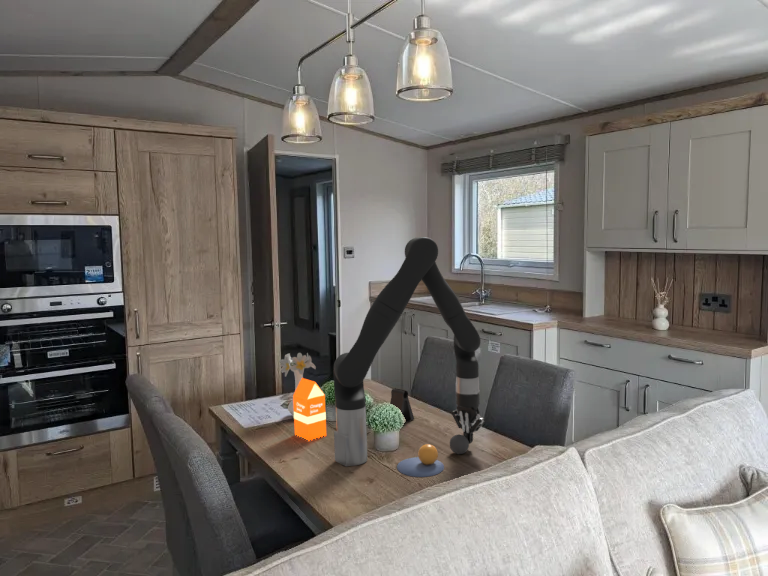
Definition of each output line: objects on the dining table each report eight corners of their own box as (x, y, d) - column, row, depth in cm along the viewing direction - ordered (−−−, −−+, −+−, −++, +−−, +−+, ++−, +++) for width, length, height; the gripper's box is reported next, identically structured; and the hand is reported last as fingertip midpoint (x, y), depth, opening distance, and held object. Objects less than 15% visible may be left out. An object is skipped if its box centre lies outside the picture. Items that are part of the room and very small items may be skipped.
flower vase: (298, 407, 229) (295, 347, 227) (326, 416, 216) (324, 353, 214) (271, 414, 220) (268, 352, 218) (298, 425, 207) (296, 359, 204)
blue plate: (419, 481, 156) (419, 480, 156) (387, 466, 167) (387, 465, 167) (453, 467, 165) (453, 466, 165) (421, 454, 176) (421, 453, 176)
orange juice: (308, 441, 190) (305, 384, 188) (294, 435, 197) (291, 379, 195) (327, 435, 195) (324, 379, 193) (312, 429, 202) (310, 375, 200)
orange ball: (445, 455, 168) (434, 471, 166) (431, 449, 173) (420, 465, 170) (435, 443, 166) (424, 459, 163) (422, 437, 170) (410, 453, 168)
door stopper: (397, 425, 203) (397, 393, 202) (386, 422, 208) (385, 390, 206) (414, 419, 210) (413, 388, 209) (402, 416, 214) (401, 385, 213)
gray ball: (475, 443, 176) (465, 460, 174) (460, 436, 181) (450, 452, 179) (467, 435, 173) (458, 452, 171) (452, 428, 177) (443, 444, 175)
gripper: (444, 388, 180) (445, 440, 182) (475, 396, 170) (476, 451, 172) (460, 384, 185) (461, 434, 187) (491, 392, 175) (491, 445, 176)
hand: (468, 442), depth 179 cm, fingers closed
